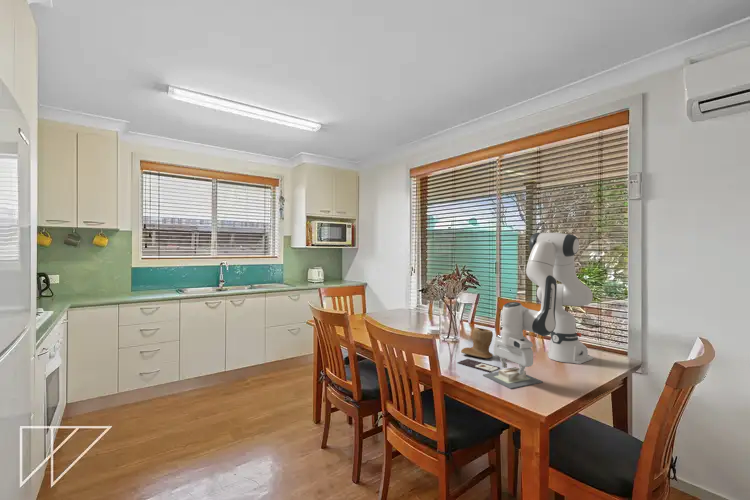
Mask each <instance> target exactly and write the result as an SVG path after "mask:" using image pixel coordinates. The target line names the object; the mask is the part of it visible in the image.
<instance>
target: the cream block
mask: <svg viewBox="0 0 750 500" xmlns="http://www.w3.org/2000/svg"><path fill="white" fill-rule="evenodd" d="M519 369H520V367H510V368H509V367H507V368H503V369H498V372H499V377H500V378H502V379H504V380H506V381H508V382H509V381H514V380H519V379H524V378H526V375H527V371H526V370H525V369H524V370H523V374H522V375H520V374H518V370H519Z"/></svg>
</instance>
